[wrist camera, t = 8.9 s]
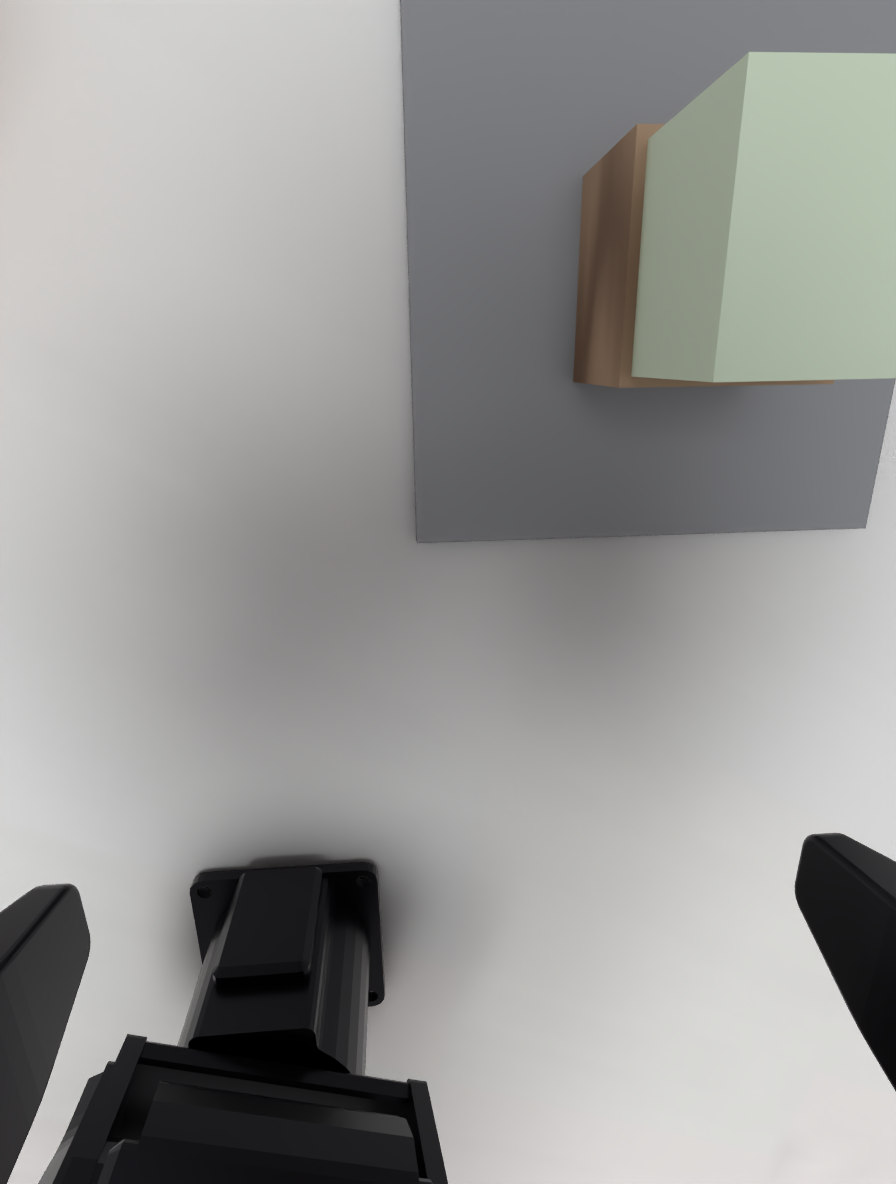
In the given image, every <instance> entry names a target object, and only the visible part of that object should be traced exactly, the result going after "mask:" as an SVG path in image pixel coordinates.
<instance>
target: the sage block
mask: <svg viewBox="0 0 896 1184" xmlns="http://www.w3.org/2000/svg"><path fill="white" fill-rule="evenodd" d="M631 376H632V377H645V378H659V379H673V380H687V381H701V382H752V381H796V380H841V379H885V378H896V54H888V53H805V52H748V53H747V54H746V55H745V56H744V57H743V58H741V59H740V60H739V61H738V62H737V63H736V64H734V65H733V66H732V67H731V68H730V69H729V70H728V71H726V72H725V73H724V74H723V75H722V76H721V77H719V78H718V79H717V80H716V81H715V82H714V83H712V84H711V85H710V86H709V87H708V88H707V89H706V90H704V91H703V92H702V93H701V94H700V95H699V96H697V97H696V98H695V99H694V100H693V101H692V102H691V103H689V104H688V105H687V106H686V107H685V108H684V109H682V110H681V111H680V112H679V113H678V114H677V115H675V116H674V117H673V118H672V119H671V120H670V121H669V122H667V123H666V124H665V125H664V126H663V127H662V128H660V129H659V130H658V131H657V132H656V133H655V134H653V135H652V136H651V137H650V138H649V139H648V145H647V159H646V173H645V187H644V202H643V216H642V230H641V245H640V259H639V273H638V287H637V302H636V316H635V330H634V344H633V359H632V373H631Z"/></svg>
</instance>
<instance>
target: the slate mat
mask: <svg viewBox="0 0 896 1184" xmlns="http://www.w3.org/2000/svg"><path fill="white" fill-rule="evenodd" d="M400 6H401V39H402V73H403V106H404V140H405V173H406V207H407V240H408V274H409V307H410V341H411V374H412V408H413V441H414V475H415V508H416V540H417V543H433V542H463V541H493V540H523V539H554V538H584V537H614V536H645V535H675V534H705V533H735V532H766V531H796V530H826V529H857V528H866V523H867V518H868V513H869V508H870V503H871V498H872V493H873V488H874V483H875V478H876V473H877V468H878V463H879V458H880V453H881V448H882V443H883V438H884V433H885V428H886V424H887V419H888V414H889V409H890V404H891V399H892V394H893V389H894V384H895V379H896V378H885V379H841V380H834V384H812V385H754V386H696V387H638V388H616V387H608V386H601V385H593V384H585V383H577V382H573V375H574V353H575V332H576V311H577V290H578V269H579V248H580V227H581V206H582V184H583V176H584V175H585V174H586V173H587V172H588V171H589V170H590V169H591V168H592V167H593V166H594V165H595V164H596V163H597V162H598V161H599V160H600V159H601V158H602V157H603V156H604V155H605V154H606V153H607V152H608V151H610V150H611V149H612V148H613V147H614V146H615V145H616V144H617V143H618V142H619V141H620V140H621V139H622V138H623V137H624V136H625V135H626V134H627V133H628V132H629V131H630V130H631V129H632V128H633V127H634V126H635V125H636V124H666V123H667V122H669V121H670V120H671V119H672V118H673V117H674V116H675V115H677V114H678V113H679V112H680V111H681V110H682V109H684V108H685V107H686V106H687V105H688V104H689V103H691V102H692V101H693V100H694V99H695V98H696V97H697V96H699V95H700V94H701V93H702V92H703V91H704V90H706V89H707V88H708V87H709V86H710V85H711V84H712V83H714V82H715V81H716V80H717V79H718V78H719V77H721V76H722V75H723V74H724V73H725V72H726V71H728V70H729V69H730V68H731V67H732V66H733V65H734V64H736V63H737V62H738V61H739V60H740V59H741V58H743V57H744V56H745V55H746V54H747V53H748V52H805V53H888V54H896V0H400Z"/></svg>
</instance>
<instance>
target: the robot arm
mask: <svg viewBox="0 0 896 1184" xmlns="http://www.w3.org/2000/svg"><path fill="white" fill-rule="evenodd" d="M360 876H367V877H369V878H366V879H361V878H359V877H360ZM203 886H204V887H208V888H210V889H209V890H208V889H204V888H202V887H203ZM795 895H796V900H797V903H798V906H799V908H800V910H801V912H802V914H803V916H804V918H805V920H806V922H807V924H808V927H809V929H810V931H811V933H812V935H813V937H814V939H815V941H816V943H817V945H818V947H819V949H820V951H821V953H822V955H823V957H824V959H825V962H826V964H827V966H828V968H829V970H830V972H831V974H832V976H833V978H834V980H835V982H836V984H837V986H838V988H839V990H840V992H841V994H842V996H843V999H844V1001H845V1003H846V1005H847V1007H848V1009H849V1011H850V1013H851V1015H852V1016H853V1018H854V1020H855V1022H856V1024H857V1026H858V1028H859V1030H860V1032H861V1033H862V1035H863V1037H864V1039H865V1040H866V1042H867V1044H868V1045H869V1047H870V1049H871V1051H872V1052H873V1054H874V1056H875V1057H876V1059H877V1061H878V1062H879V1064H880V1066H881V1067H882V1069H883V1071H884V1072H885V1074H886V1076H887V1077H888V1079H889V1081H890V1082H891V1084H892V1086H893V1087H894V1089H895V1091H896V862H895V861H893V860H891V859H890V858H888V857H886V856H884V855H882V854H880V853H878V852H876V851H874V850H872V849H871V848H869V847H867V846H865V845H863V844H861V843H859V842H857V841H855V840H853V839H852V838H850V837H848V836H846V835H844V834H840V833H824V834H812V835H809V836H808V837H807V838H806V839H805V840H804V842H803V846H802V851H801V856H800V861H799V866H798V871H797V876H796V881H795ZM190 897H191V903H192V908H193V914H194V919H195V925H196V930H197V936H198V941H199V947H200V953H201V958H202V964H203V966H202V969H201V972H200V976H199V979H198V982H197V985H196V988H195V991H194V995H193V998H192V1001H191V1004H190V1007H189V1010H188V1014H187V1017H186V1020H185V1023H184V1026H183V1030H182V1033H181V1036H180V1039H179V1042H178V1045H177V1046H174V1045H168V1044H161V1043H155V1042H149V1041H147V1037H143V1036H136V1035H130V1034H127V1037H126V1039H125V1041H124V1043H123V1046H122V1048H121V1050H120V1052H119V1055H118V1057H117V1059H116V1061H115V1062H111V1061H108V1063H107V1065H106V1068H105V1070H104V1072H102V1073H100V1074H98V1075H96V1076H93V1077H91V1078H89V1079H88V1082H87V1084H86V1087H85V1089H84V1091H83V1094H82V1096H81V1098H80V1101H79V1103H78V1105H77V1108H76V1110H75V1112H74V1115H73V1117H72V1120H71V1122H70V1124H69V1126H68V1129H67V1131H66V1133H65V1135H64V1137H63V1140H62V1142H61V1144H60V1146H59V1148H58V1150H57V1152H56V1153H55V1155H54V1157H53V1159H52V1160H51V1162H50V1164H49V1166H48V1167H47V1169H46V1171H45V1173H44V1174H43V1176H42V1178H41V1180H40V1181H39V1183H38V1184H448V1181H447V1176H446V1171H445V1167H444V1162H443V1157H442V1153H441V1148H440V1143H439V1138H438V1134H437V1129H436V1124H435V1119H434V1115H433V1110H432V1105H431V1101H430V1096H429V1091H428V1086H427V1083H426V1082H425V1081H419V1080H412V1079H408V1080H407V1082H401V1081H395V1080H389V1079H382V1078H376V1077H370V1076H365V1062H366V1037H367V1012H368V1007H369V1006H375V1005H378V1004H380V1003H381V1002H382V1001H383V1000H384V996H385V983H384V966H383V950H382V933H381V916H380V900H379V883H378V871H377V868H376V867H375V866H374V865H373V864H371V863H368V862H357V863H342V864H326V865H311V866H296V867H281V868H266V869H250V870H235V871H220V872H205V873H201V874H199V875H197V876H196V877H195V879H194V880H193V883H192V885H191V888H190ZM89 952H90V933H89V929H88V925H87V921H86V917H85V913H84V910H83V906H82V902H81V898H80V894H79V891H78V889H77V888H76V887H75V886H74V885H72V884H55V885H42V886H38V887H35V888H34V889H32V890H30V891H29V892H27V893H26V894H25V895H23V896H22V897H21V898H19V899H18V900H16V901H15V902H14V903H12V904H11V905H10V906H8V907H7V908H5V909H4V910H3V911H1V912H0V1184H7V1182H8V1179H9V1177H10V1175H11V1172H12V1170H13V1168H14V1165H15V1163H16V1161H17V1158H18V1156H19V1154H20V1151H21V1149H22V1147H23V1144H24V1142H25V1140H26V1137H27V1135H28V1133H29V1130H30V1128H31V1126H32V1123H33V1121H34V1118H35V1116H36V1113H37V1111H38V1108H39V1106H40V1103H41V1101H42V1098H43V1095H44V1092H45V1089H46V1087H47V1084H48V1081H49V1078H50V1075H51V1072H52V1069H53V1066H54V1063H55V1060H56V1056H57V1053H58V1050H59V1047H60V1044H61V1041H62V1038H63V1035H64V1032H65V1029H66V1025H67V1022H68V1019H69V1016H70V1013H71V1010H72V1007H73V1004H74V1001H75V998H76V994H77V991H78V988H79V985H80V982H81V979H82V976H83V973H84V970H85V967H86V963H87V960H88V957H89Z"/></svg>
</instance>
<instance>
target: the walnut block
mask: <svg viewBox="0 0 896 1184" xmlns="http://www.w3.org/2000/svg"><path fill="white" fill-rule="evenodd" d="M664 125H665V124H636V125H635V126H634V127H633V128H632V129H631V130H630V131H629V132H628V133H627V134H626V135H625V136H624V137H623V138H622V139H621V140H620V141H619V142H618V143H617V144H616V145H615V146H614V147H613V148H612V149H611V150H610V151H608V152H607V153H606V154H605V155H604V156H603V157H602V158H601V159H600V160H599V161H598V162H597V163H596V164H595V165H594V166H593V167H592V168H591V169H590V170H589V171H588V172H587V173H586V174H585V175H584V176H583V184H582V206H581V227H580V248H579V269H578V290H577V311H576V332H575V353H574V375H573V382H577V383H585V384H593V385H601V386H608V387H616V388H638V387H696V386H754V385H812V384H834V380H796V381H752V382H701V381H687V380H673V379H659V378H645V377H632V376H631V373H632V359H633V344H634V330H635V316H636V302H637V287H638V273H639V259H640V245H641V230H642V216H643V202H644V187H645V173H646V159H647V145H648V139H649V138H650V137H651V136H652V135H653V134H655V133H656V132H657V131H658V130H659V129H660V128H662V127H663V126H664Z"/></svg>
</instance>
